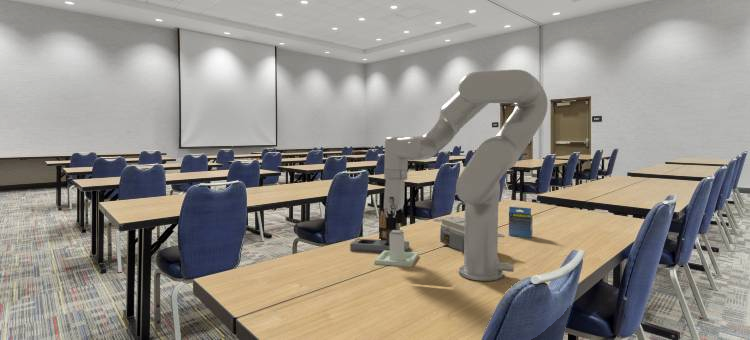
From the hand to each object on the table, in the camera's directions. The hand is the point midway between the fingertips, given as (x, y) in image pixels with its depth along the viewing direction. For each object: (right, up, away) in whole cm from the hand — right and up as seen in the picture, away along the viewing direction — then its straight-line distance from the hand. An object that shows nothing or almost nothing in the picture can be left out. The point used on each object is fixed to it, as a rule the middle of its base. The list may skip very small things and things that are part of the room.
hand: (394, 226), depth 134 cm
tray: (+1, -12, +1) cm, 12 cm away
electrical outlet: (+27, -11, +16) cm, 33 cm away
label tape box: (+54, -9, +34) cm, 64 cm away
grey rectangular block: (+1, -11, 0) cm, 11 cm away
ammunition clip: (-1, -10, +27) cm, 29 cm away
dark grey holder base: (-4, -11, +17) cm, 20 cm away
